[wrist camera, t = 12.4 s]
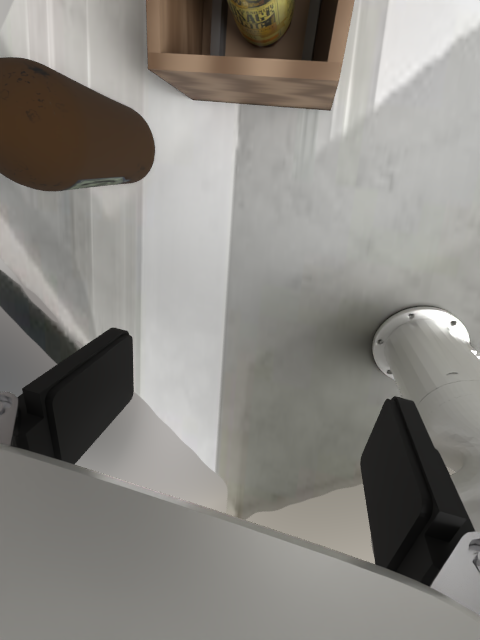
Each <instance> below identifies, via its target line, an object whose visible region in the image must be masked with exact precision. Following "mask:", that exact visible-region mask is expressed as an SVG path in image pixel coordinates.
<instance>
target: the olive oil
mask: <svg viewBox="0 0 480 640" xmlns="http://www.w3.org/2000/svg"><path fill="white" fill-rule="evenodd" d="M154 155H155V145H154V139H153V136H152V133H151V130H150V128H149V126H148V124H147V123H146V121H145V120H144V119H143V118H142V117H141V116H140V115H139V114H138V113H137V112H136V111H134V110H133V109H131V108H129V107H127V106H125V105H123V104H120V103H118V102H116V101H114V100H112V99H110V98H108V97H106V96H104V95H102V94H100V93H98V92H96V91H94V90H92V89H90V88H88V87H86V86H84V85H82V84H80V83H78V82H76V81H74V80H72V79H70V78H68V77H66V76H64V75H62V74H60V73H58V72H56V71H55V70H53V69H51V68H49V67H47V66H45V65H43V64H40V63H38V62H35V61H32V60H29V59H24V58H13V57H8V58H0V173H1V174H3V175H4V176H6V177H7V178H9V179H10V180H12V181H14V182H16V183H19V184H21V185H24V186H27V187H30V188H33V189H37V190H42V191H63V190H71V189H79V188H87V187H96V186H105V185H115V184H126V183H134V182H137V181H139V180H141V179H142V178H144V177H145V176H146V175H147V174H148V172H149V171H150V169H151V167H152V164H153V161H154Z"/></svg>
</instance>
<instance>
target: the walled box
mask: <svg viewBox="0 0 480 640" xmlns="http://www.w3.org/2000/svg"><path fill="white" fill-rule="evenodd" d="M354 1H355V0H295V8H294V12H293V16H292V20H291V24H290V27H289V29H288V31H287V32H286V33H285V35H284V36H283V37H282V39H280V40H279V41H278V42H277V43H276V44H275V45H274V46H270V47H255V46H253V45H252V44H251V43H249V42H248V41H247V40H246V39H245V38H244V37H243V35H242V34H241V33H240V31H239V29H238V27H237V24H236V22H235V19H234V17H233V14H232V12H231V10H230V7H229V4H228V2H227V0H146V13H147V50H148V69H149V70H150V71H152V72H153V73H155V74H156V75H157V76H159V77H160V78H162V79H163V80H165V81H166V82H168V83H169V84H171V85H172V86H174V87H175V88H177V89H178V90H179V91H181V92H182V93H184V94H185V95H187V96H188V97H190V98H191V99H193V100H200V101H213V102H226V103H239V104H252V105H265V106H278V107H291V108H305V109H318V110H331V107H332V103H333V100H334V96H335V93H336V89H337V86H338V82H339V78H340V73H341V68H342V62H343V57H344V52H345V47H346V42H347V37H348V32H349V26H350V21H351V16H352V11H353V6H354Z"/></svg>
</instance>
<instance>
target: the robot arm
mask: <svg viewBox="0 0 480 640" xmlns="http://www.w3.org/2000/svg"><path fill="white" fill-rule="evenodd" d="M410 313H411V315H409V314H410ZM451 321H452V322H451ZM379 339H381V340H379ZM372 352H373V356H374V360H375V362H376V364H377V366H378V367H379V369H380V370H381V371H382V372H383V373H384V374H385V375H386V376H388V377H390V378H392V379H393V380H395V382H396V384H397V386H398V389H399V391H400V393H401V396H402V398H400V397H396V396H394V397H393V398H392V399H391V400H390V399H386V401H385V402H384V405H383V407H382V409H381V412H380V414H379V416H378V419H377V421H376V423H375V426H374V428H373V430H372V433H371V435H370V437H369V439H368V442H367V444H366V446H365V449H364V451H363V453H362V456H361V463H360V465H361V472H362V479H363V485H364V492H365V499H366V505H367V511H368V518H369V524H370V531H371V543H372V549H373V553H374V557H375V564H376V565H375V564H372V563H370V562H367V561H363V560H361V559H358V558H355V557H352V556H350V555H347V554H344V553H341V552H338V551H335V550H333V549H329V548H327V547H324V546H321V545H318V544H315V543H312V542H309V541H306V540H303V539H300V538H297V537H294V536H291V535H288V534H285V533H282V532H279V531H276V530H273V529H270V528H267V527H264V526H261V525H258V524H255V523H252V522H249V521H246V520H243V519H240V518H237V517H234V516H231V515H228V514H225V513H222V512H219V511H216V510H213V509H210V508H207V507H203V506H201V505H197V504H195V503H192V502H189V501H185V500H182V499H179V498H176V497H173V496H170V495H167V494H164V493H161V492H158V491H155V490H152V489H148V488H146V487H142V486H140V485H136V484H133V483H130V482H127V481H124V480H120V479H117V478H114V477H111V476H108V475H105V474H102V473H99V472H96V471H93V470H89V469H87V468H83V467H80V466H77V465H74V464H75V463H76V462H77V461H78V460H79V459H80V458H81V456H82V455H83V454H84V453H85V452H86V451H87V450H88V448H89V447H90V446H91V445H92V444H93V443H94V441H95V440H96V439H97V438H98V437H99V436H100V435H101V434H102V432H103V431H104V430H105V429H106V428H107V427H108V426H109V424H110V423H111V422H112V421H113V420H114V419H115V418H116V416H117V415H118V414H119V413H120V412H121V411H122V410H123V409H124V407H125V406H126V405H127V404H128V403H129V402H130V400H131V399H132V396H133V392H134V387H133V341H132V336H130V335H129V333H128V331H125V330H121V329H117V328H110V329H109V330H107V331H106V332H104V333H103V334H101V335H100V336H99V337H97V338H96V339H94V340H93V341H91V342H90V343H88V344H87V345H85V346H84V347H82V348H81V349H80V350H78V351H77V352H75V353H74V354H72V355H71V356H69V357H68V358H66V359H65V360H63V361H62V362H60V363H59V364H58V365H56V366H55V367H53V368H52V369H50V370H49V371H47V372H46V373H44V374H43V375H42V376H40V377H38V378H37V379H36V380H34V381H33V382H31V383H30V384H28V385H27V386H25V387H24V388H23V389H22V390H23V394H21V395H20V396H19V397H16V396H15V395H14V394H12V393H10V392H2V391H0V640H480V352H477V351H476V350H475V349H474V348H473V347H472V346H471V345H470V339H469V334H468V331H467V329H466V327H465V326H464V325H463V323H462V322H461V321H460V320H459V319H458V318H457V317H455V316H454V315H453V314H451V313H449V312H448V311H445V310H442V309H440V308H435V307H414V308H409V309H406V310H403V311H400V312H398V313H396V314H395V315H393V316H391V317H390V318H389V319H387V320H386V321H385V322H384V323H383V324H382V325H381V326H380V327H379V329H378V331H377V332H376V334H375V336H374V339H373V344H372ZM446 466H447V467H448V468H450V469H452V470H454V471H455V472H456V473H454V474H452V475H449V472H448V470H447V468H446Z"/></svg>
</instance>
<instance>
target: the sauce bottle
mask: <svg viewBox="0 0 480 640" xmlns="http://www.w3.org/2000/svg"><path fill="white" fill-rule="evenodd" d="M227 2H228V4H229V7H230V10H231V12H232V14H233V17H234V19H235V22H236V24H237V27H238V29H239V31H240V33H241V34H242V35H243V37H244V38H245V39H246V40H247V41H248V42H249V43H251V44H252V45H253V46H255V47H270V46H274V45H275V44H276V43H277V42H278V41H279V40H280V39H282V37H283V36H284V35H285V33H286V32H287V31H288V29H289V27H290V24H291V20H292V16H293V12H294V8H295V0H227Z"/></svg>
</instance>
